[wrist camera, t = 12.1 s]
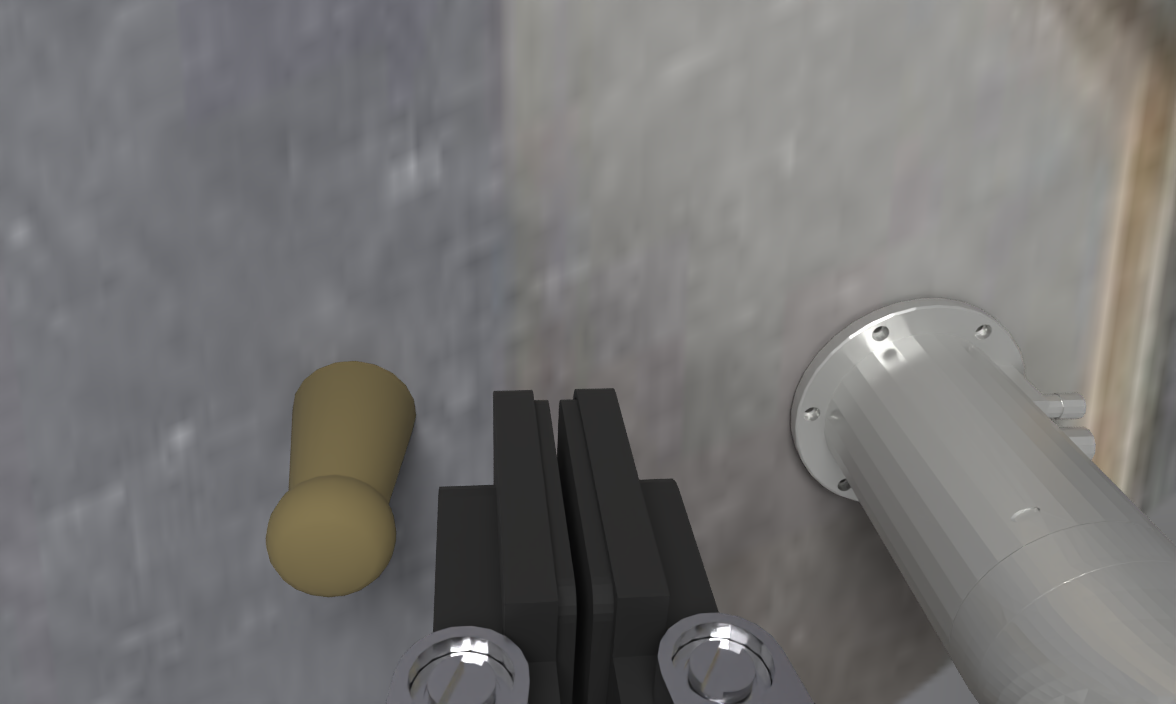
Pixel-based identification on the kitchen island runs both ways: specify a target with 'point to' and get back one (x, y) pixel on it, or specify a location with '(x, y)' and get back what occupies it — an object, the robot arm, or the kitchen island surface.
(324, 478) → the cork
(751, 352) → the kitchen island surface
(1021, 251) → the kitchen island surface
